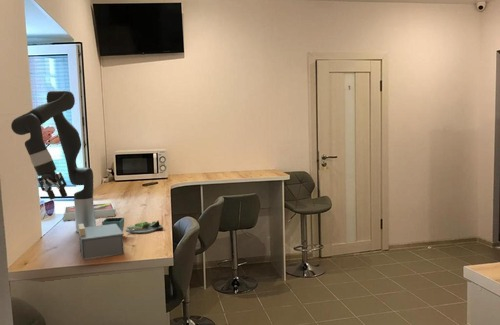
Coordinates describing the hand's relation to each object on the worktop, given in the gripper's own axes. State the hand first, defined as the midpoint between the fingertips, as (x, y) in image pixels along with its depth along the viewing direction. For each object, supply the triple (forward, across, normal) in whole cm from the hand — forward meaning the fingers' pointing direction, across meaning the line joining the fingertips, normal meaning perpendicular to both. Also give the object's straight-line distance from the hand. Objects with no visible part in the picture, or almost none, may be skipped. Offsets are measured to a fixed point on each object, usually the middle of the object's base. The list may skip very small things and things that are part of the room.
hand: (58, 197), depth 173 cm
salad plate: (+37, +5, -40) cm, 55 cm away
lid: (+20, -7, -7) cm, 23 cm away
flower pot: (+31, +7, -22) cm, 39 cm away
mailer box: (+28, -5, -5) cm, 29 cm away
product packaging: (+30, +62, -51) cm, 86 cm away
